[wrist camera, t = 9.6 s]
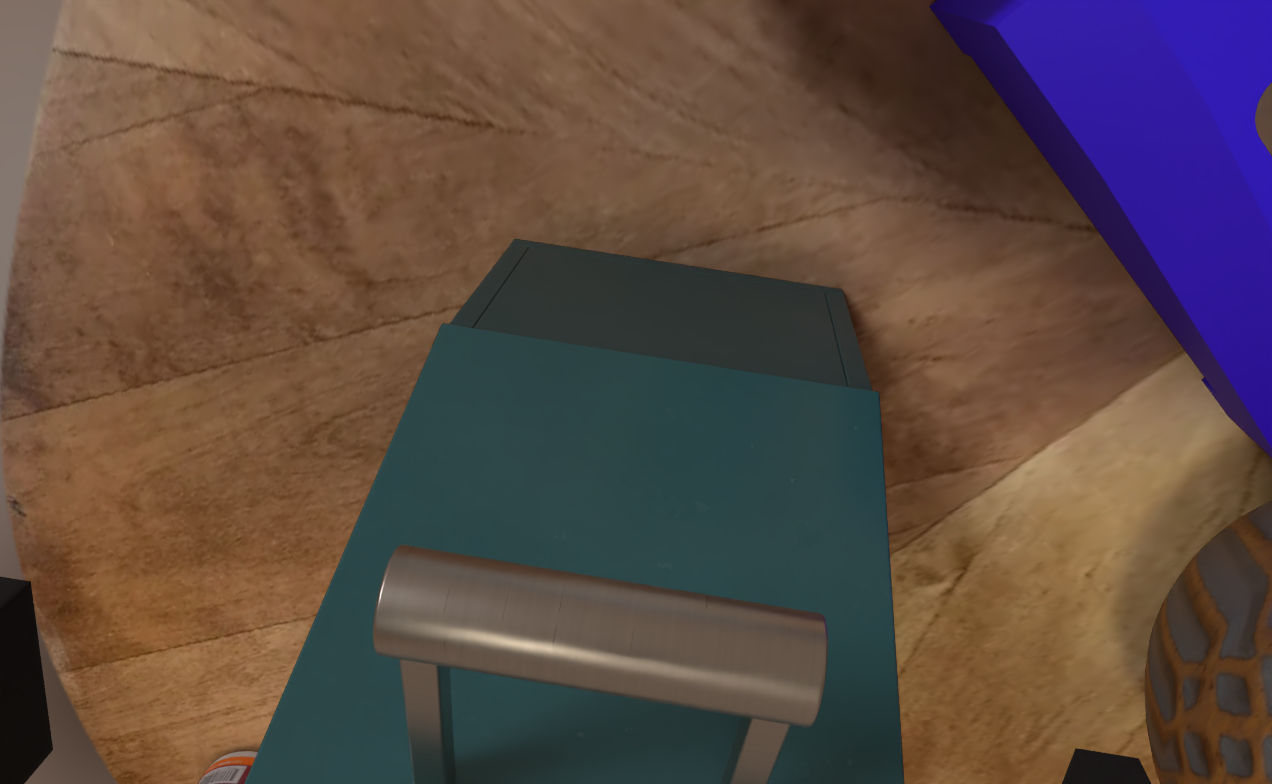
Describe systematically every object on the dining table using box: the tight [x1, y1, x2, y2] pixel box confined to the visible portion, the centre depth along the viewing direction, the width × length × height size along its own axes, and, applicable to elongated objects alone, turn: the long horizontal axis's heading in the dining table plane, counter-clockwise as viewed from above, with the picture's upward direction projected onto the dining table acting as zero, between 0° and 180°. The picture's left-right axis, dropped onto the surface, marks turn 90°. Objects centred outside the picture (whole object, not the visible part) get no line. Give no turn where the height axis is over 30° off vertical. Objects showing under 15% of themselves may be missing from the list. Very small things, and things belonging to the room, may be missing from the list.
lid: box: [244, 323, 904, 784], centre depth 23 cm, size 16×14×8 cm
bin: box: [450, 239, 873, 391], centre depth 40 cm, size 16×14×11 cm
